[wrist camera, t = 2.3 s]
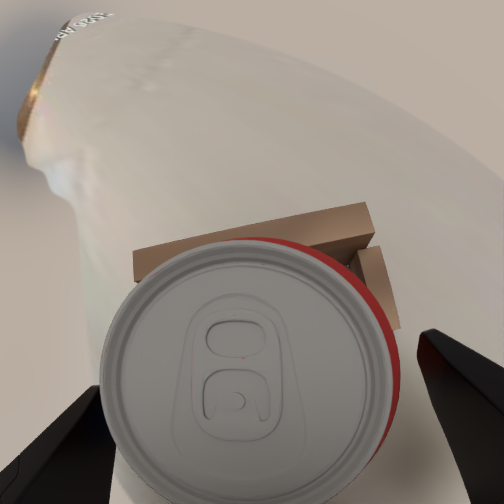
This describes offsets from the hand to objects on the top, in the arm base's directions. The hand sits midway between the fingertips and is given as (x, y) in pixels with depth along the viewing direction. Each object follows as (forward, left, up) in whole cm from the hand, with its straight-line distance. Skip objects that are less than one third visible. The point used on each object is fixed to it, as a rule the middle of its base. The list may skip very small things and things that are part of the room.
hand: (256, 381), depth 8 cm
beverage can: (0, 0, -9) cm, 9 cm away
